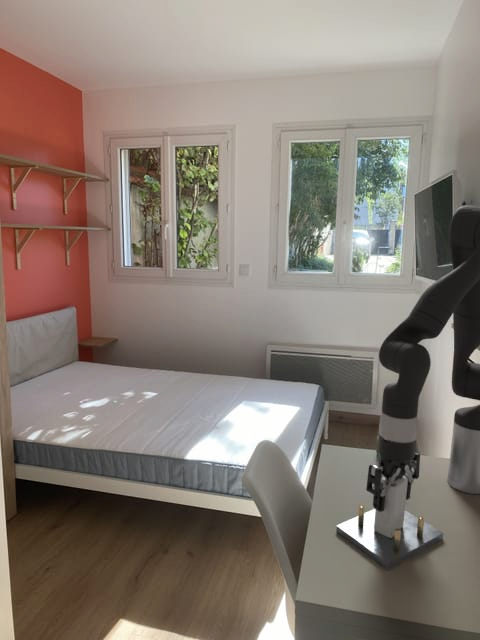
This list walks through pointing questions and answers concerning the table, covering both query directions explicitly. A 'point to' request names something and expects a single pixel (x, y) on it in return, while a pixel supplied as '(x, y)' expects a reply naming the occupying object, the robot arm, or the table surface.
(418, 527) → the standoff plate
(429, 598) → the table surface
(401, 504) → the skincare box
